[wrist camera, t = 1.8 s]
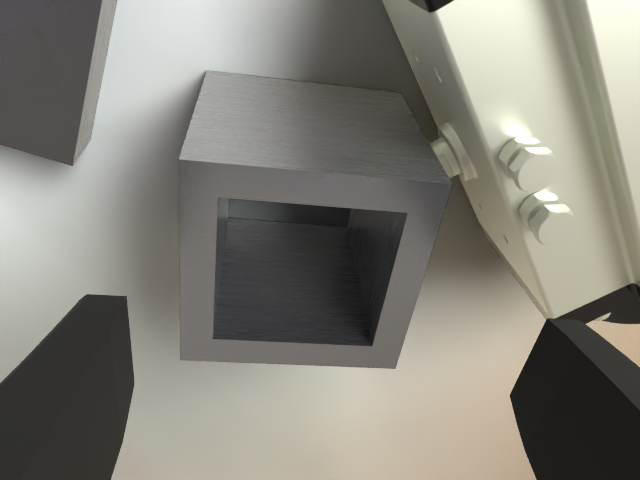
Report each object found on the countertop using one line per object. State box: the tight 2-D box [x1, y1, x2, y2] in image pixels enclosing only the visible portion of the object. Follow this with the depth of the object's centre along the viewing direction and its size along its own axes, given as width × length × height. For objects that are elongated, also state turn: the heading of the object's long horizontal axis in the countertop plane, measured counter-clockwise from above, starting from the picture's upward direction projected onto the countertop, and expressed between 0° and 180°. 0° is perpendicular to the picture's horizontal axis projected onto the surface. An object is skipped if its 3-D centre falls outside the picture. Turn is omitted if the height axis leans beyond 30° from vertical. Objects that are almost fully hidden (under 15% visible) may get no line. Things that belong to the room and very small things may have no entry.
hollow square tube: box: [178, 71, 452, 369], centre depth 13 cm, size 5×5×5 cm
